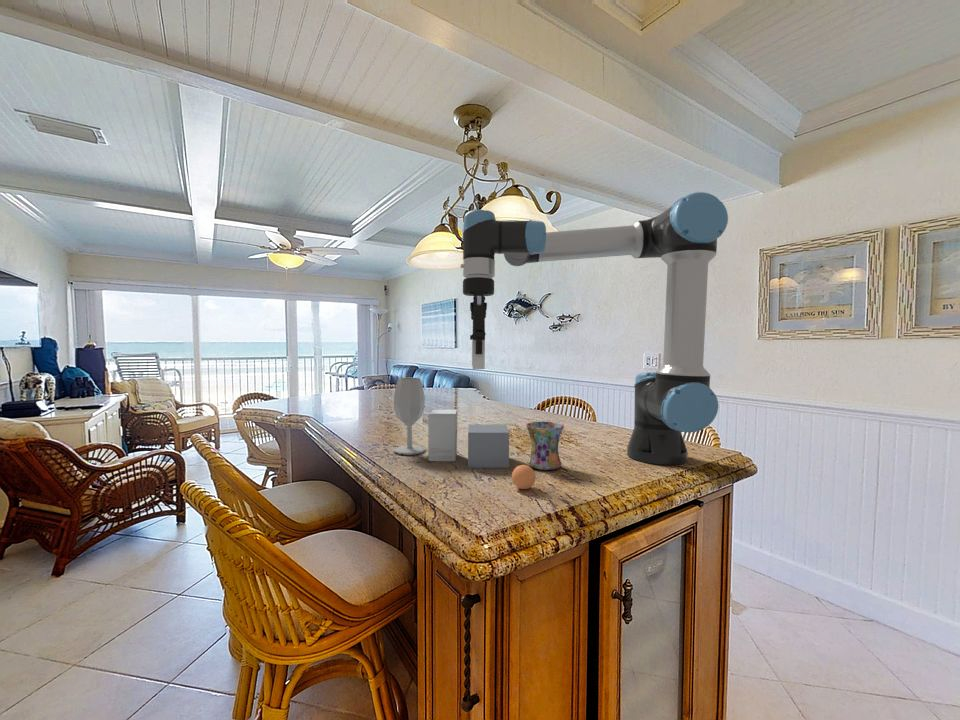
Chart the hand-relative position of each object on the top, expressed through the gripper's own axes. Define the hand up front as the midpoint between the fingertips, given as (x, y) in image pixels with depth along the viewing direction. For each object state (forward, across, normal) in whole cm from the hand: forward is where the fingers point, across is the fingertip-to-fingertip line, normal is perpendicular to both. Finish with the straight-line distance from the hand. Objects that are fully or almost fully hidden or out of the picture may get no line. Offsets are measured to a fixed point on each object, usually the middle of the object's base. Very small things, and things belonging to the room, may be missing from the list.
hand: (477, 367), depth 100 cm
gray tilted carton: (+25, -7, +3) cm, 26 cm away
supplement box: (+25, -12, -9) cm, 29 cm away
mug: (+25, -4, +17) cm, 31 cm away
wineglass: (+26, -18, -19) cm, 36 cm away
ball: (+23, +13, +10) cm, 28 cm away
